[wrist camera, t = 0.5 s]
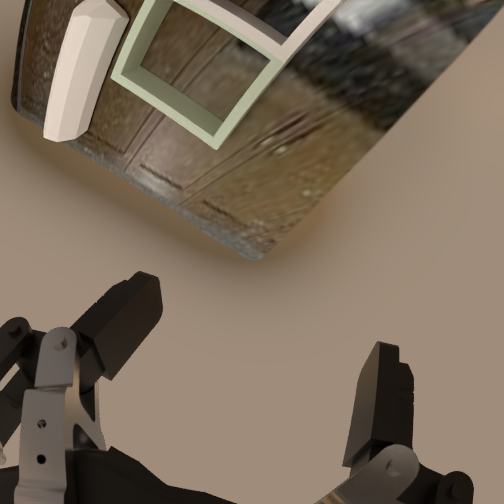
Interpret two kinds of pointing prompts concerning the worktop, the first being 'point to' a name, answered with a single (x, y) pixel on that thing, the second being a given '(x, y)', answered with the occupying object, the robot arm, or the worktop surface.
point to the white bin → (261, 33)
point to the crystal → (82, 67)
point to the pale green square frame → (171, 98)
